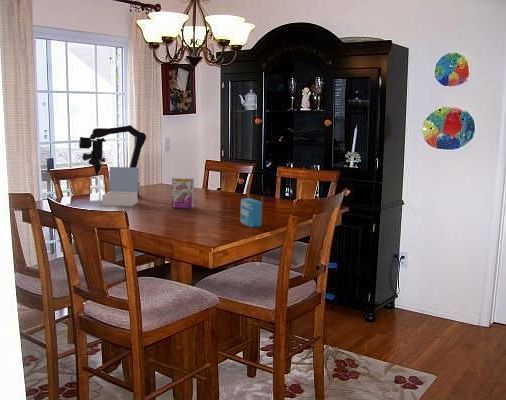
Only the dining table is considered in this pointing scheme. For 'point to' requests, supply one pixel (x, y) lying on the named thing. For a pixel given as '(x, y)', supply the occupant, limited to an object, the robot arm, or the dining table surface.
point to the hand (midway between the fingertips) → (97, 175)
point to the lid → (123, 179)
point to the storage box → (119, 199)
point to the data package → (251, 212)
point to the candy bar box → (182, 192)
